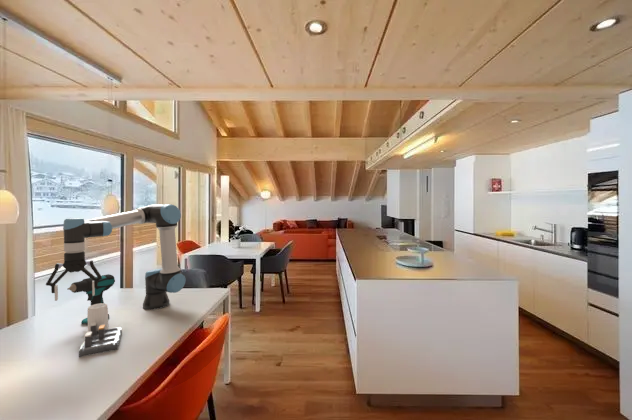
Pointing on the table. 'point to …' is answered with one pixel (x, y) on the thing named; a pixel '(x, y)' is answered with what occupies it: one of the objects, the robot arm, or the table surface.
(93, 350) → the panel
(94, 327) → the block
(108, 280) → the power drill
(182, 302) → the table surface
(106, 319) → the cup
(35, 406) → the table surface
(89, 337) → the block
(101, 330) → the block
